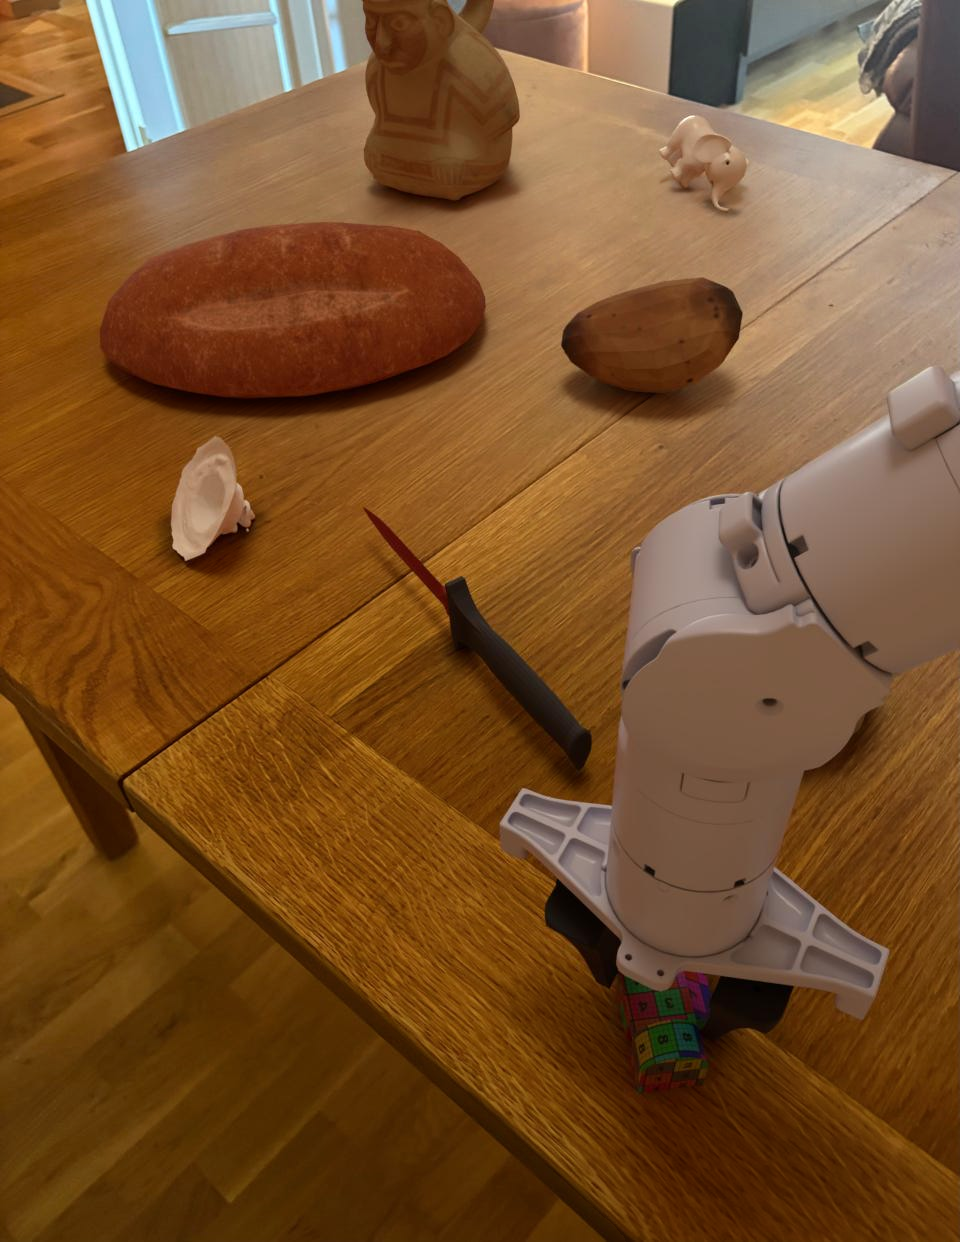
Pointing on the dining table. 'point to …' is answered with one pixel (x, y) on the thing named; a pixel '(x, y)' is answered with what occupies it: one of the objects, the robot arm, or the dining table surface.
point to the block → (665, 1030)
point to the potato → (655, 335)
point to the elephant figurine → (704, 157)
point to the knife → (498, 655)
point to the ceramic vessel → (436, 98)
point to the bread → (291, 310)
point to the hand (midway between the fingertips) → (662, 991)
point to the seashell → (207, 500)
